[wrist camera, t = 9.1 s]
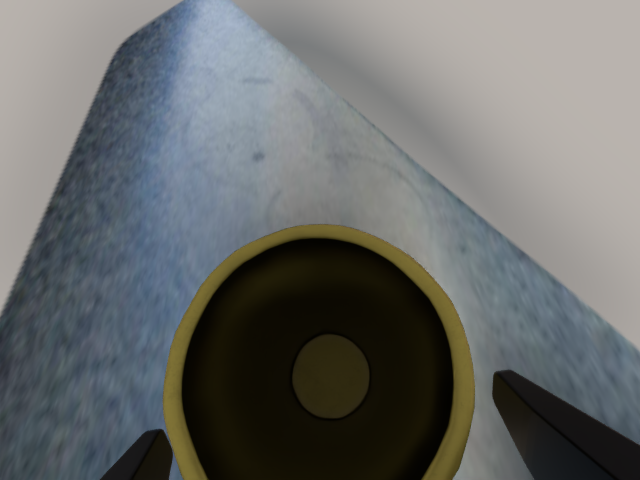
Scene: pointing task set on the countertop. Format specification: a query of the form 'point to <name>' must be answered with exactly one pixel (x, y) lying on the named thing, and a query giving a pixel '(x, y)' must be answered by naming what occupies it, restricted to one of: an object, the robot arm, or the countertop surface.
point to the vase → (319, 365)
